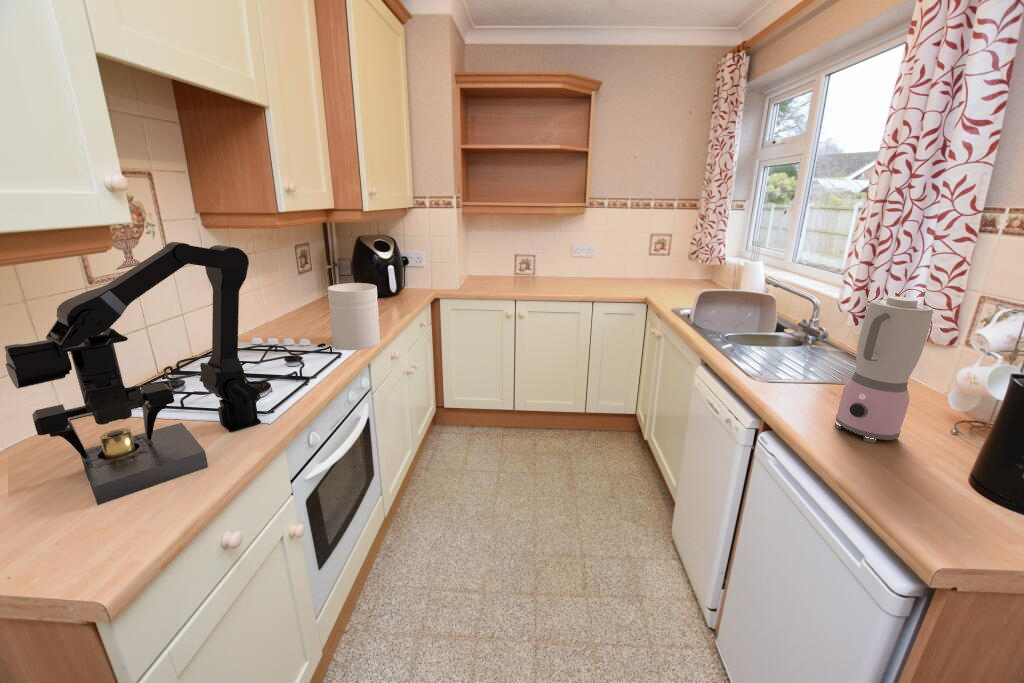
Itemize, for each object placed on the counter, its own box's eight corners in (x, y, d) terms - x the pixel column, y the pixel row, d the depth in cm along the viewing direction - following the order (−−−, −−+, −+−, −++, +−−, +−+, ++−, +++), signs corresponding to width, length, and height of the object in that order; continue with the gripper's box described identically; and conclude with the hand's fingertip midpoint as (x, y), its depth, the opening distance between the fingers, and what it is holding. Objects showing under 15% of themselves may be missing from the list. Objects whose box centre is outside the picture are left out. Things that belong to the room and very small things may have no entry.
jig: (184, 437, 98) (181, 422, 96) (208, 467, 87) (205, 450, 86) (83, 467, 86) (79, 450, 85) (97, 505, 76) (92, 487, 75)
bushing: (136, 458, 90) (128, 425, 87) (141, 467, 87) (132, 433, 85) (106, 467, 86) (97, 433, 84) (110, 476, 84) (101, 442, 82)
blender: (851, 415, 116) (885, 291, 107) (908, 437, 106) (952, 302, 97) (814, 428, 109) (847, 296, 100) (872, 452, 99) (914, 308, 90)
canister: (322, 346, 158) (316, 289, 152) (351, 334, 173) (347, 281, 167) (362, 352, 153) (357, 293, 147) (388, 339, 168) (385, 285, 162)
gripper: (25, 399, 69) (53, 488, 74) (173, 368, 82) (189, 446, 87) (21, 379, 76) (47, 461, 81) (158, 354, 89) (174, 426, 94)
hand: (118, 448), depth 85 cm, fingers open, 9 cm apart
